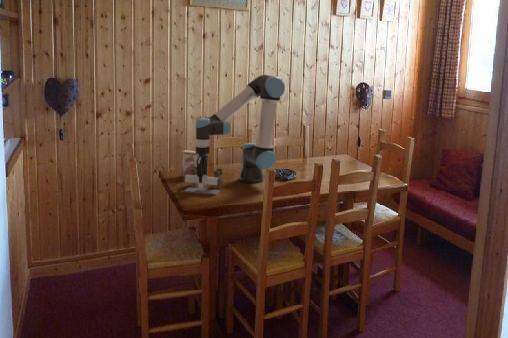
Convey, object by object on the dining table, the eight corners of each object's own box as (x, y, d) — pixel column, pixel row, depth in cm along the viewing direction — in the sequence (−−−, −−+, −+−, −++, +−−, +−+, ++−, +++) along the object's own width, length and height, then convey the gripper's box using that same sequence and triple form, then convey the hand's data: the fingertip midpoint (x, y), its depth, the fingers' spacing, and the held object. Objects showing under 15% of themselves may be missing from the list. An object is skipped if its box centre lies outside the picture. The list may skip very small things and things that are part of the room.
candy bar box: (181, 177, 315) (181, 151, 311) (185, 175, 319) (185, 149, 315) (197, 179, 311) (198, 153, 307) (201, 177, 316) (201, 151, 312)
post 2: (222, 186, 298) (222, 168, 295) (218, 189, 291) (218, 171, 288) (217, 185, 298) (217, 168, 296) (213, 188, 291) (213, 171, 289)
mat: (220, 191, 287) (220, 190, 287) (216, 195, 280) (216, 194, 280) (188, 188, 291) (188, 187, 291) (183, 192, 283) (183, 191, 283)
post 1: (199, 184, 300) (199, 166, 298) (195, 187, 294) (195, 169, 291) (194, 183, 301) (194, 166, 299) (190, 186, 294) (190, 169, 292)
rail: (220, 183, 284) (220, 177, 283) (218, 185, 280) (218, 179, 280) (185, 180, 288) (186, 174, 287) (183, 182, 284) (183, 176, 284)
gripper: (200, 143, 288) (200, 182, 293) (191, 148, 272) (190, 190, 277) (213, 144, 286) (212, 183, 292) (204, 149, 270) (203, 191, 276)
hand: (202, 186), depth 285 cm, fingers closed on rail, 3 cm apart
